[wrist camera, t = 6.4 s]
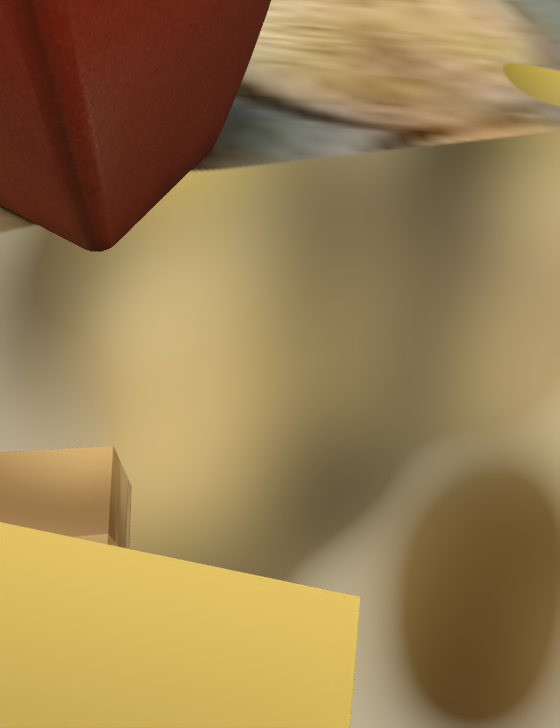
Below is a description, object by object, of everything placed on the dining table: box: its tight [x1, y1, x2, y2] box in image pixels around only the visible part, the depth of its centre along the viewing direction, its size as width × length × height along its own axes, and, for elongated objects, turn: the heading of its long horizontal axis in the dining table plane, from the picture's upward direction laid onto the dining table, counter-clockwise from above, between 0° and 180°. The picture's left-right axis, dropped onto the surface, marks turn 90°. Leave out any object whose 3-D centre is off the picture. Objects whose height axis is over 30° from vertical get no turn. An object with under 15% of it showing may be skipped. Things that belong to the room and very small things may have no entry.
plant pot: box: [0, 0, 271, 251], centre depth 25 cm, size 19×19×17 cm
